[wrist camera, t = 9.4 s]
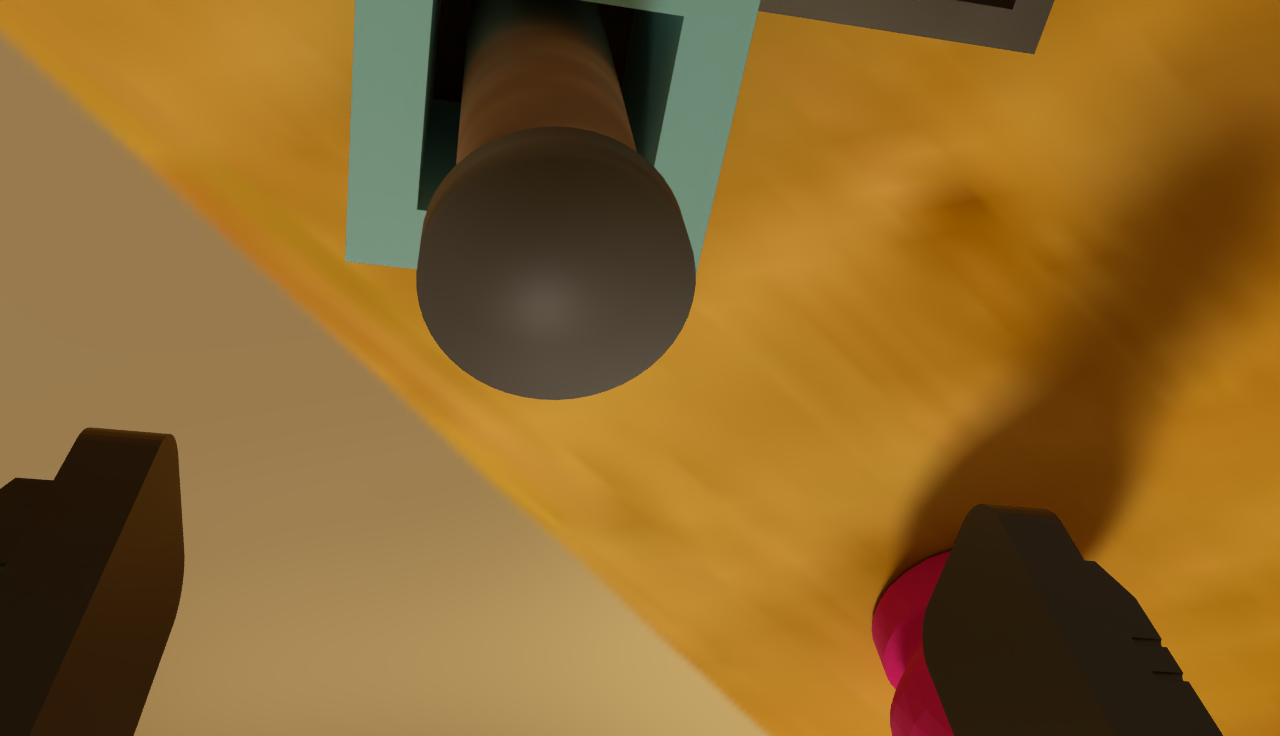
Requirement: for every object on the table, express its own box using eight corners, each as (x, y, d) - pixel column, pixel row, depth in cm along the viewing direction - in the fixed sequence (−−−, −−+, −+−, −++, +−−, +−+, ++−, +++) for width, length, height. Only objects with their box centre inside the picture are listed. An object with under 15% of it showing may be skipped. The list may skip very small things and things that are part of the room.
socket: (716, -114, 24) (771, -47, 19) (656, 178, 28) (690, 298, 23) (390, -172, 23) (359, -116, 18) (374, 143, 27) (345, 261, 22)
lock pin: (629, -54, 25) (722, 175, 14) (602, 107, 27) (666, 410, 16) (458, -82, 24) (426, 137, 14) (444, 86, 26) (407, 388, 16)
